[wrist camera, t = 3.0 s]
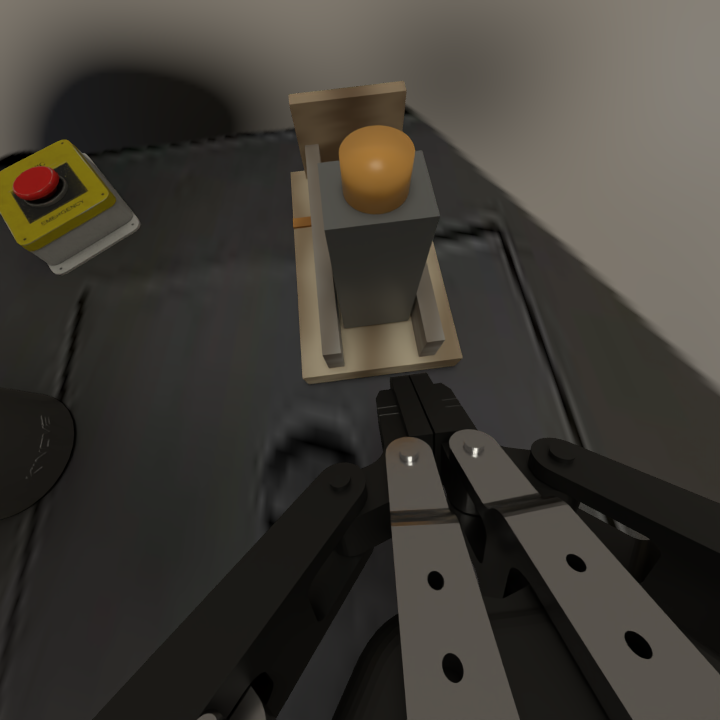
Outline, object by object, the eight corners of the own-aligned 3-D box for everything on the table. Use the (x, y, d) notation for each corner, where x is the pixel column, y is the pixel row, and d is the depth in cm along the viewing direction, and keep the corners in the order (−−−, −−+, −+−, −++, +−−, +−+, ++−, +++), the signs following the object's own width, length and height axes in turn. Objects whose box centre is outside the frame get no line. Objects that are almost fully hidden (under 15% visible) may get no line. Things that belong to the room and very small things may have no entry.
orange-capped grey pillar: (344, 328, 21) (317, 197, 10) (339, 284, 22) (310, 124, 11) (408, 320, 21) (450, 181, 10) (399, 276, 22) (429, 110, 11)
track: (308, 384, 22) (276, 350, 14) (295, 190, 29) (269, 96, 21) (454, 365, 22) (499, 322, 15) (408, 176, 29) (422, 78, 21)
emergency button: (6, 251, 22) (-45, 157, 26) (63, 282, 27) (11, 197, 30) (109, 191, 24) (47, 112, 28) (147, 229, 28) (88, 155, 32)
